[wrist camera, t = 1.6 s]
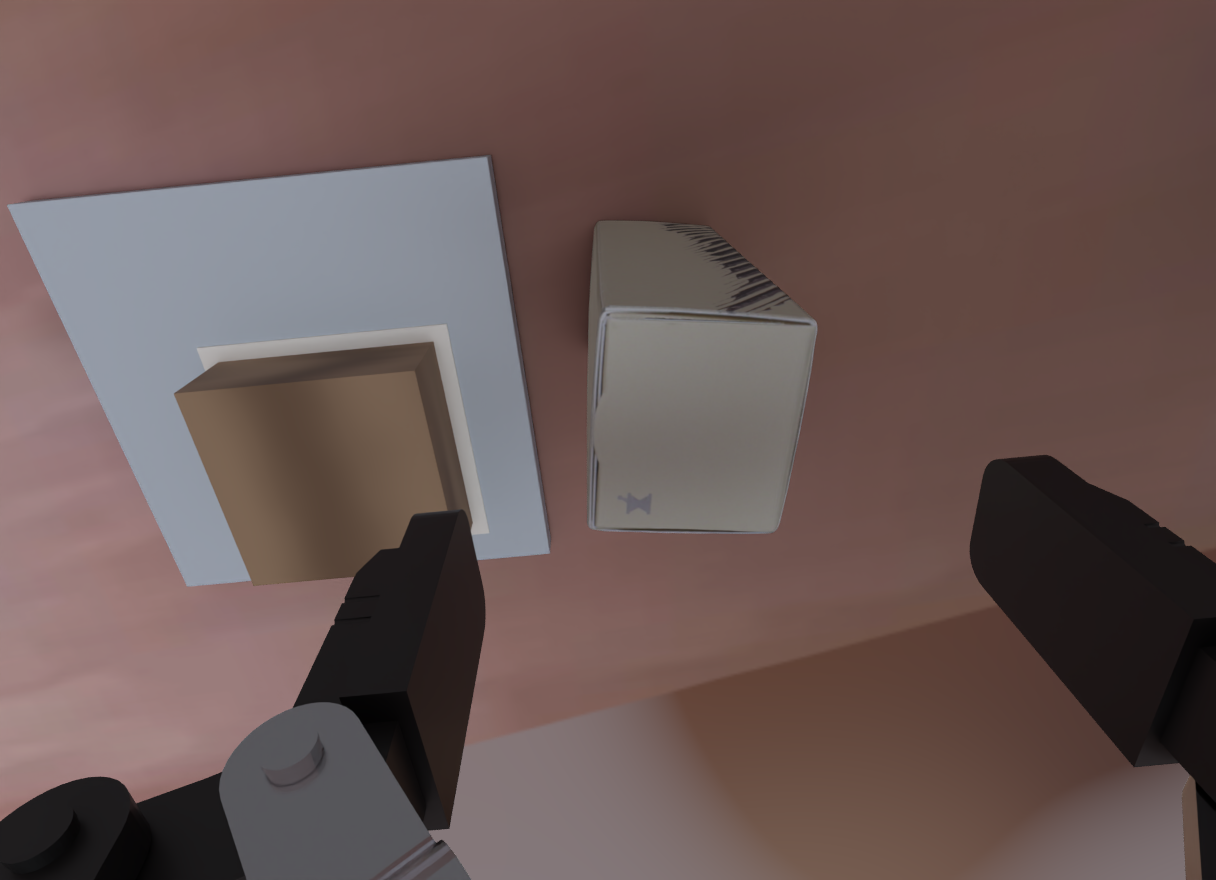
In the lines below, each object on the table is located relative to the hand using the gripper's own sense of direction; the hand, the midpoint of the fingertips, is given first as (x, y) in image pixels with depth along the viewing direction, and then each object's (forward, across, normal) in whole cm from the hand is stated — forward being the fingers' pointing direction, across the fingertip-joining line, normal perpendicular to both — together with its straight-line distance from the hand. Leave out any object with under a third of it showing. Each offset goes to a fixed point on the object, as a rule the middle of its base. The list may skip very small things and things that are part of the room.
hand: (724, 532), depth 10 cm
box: (+16, 0, 0) cm, 16 cm away
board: (+16, +13, +3) cm, 21 cm away
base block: (+15, +12, +5) cm, 20 cm away
